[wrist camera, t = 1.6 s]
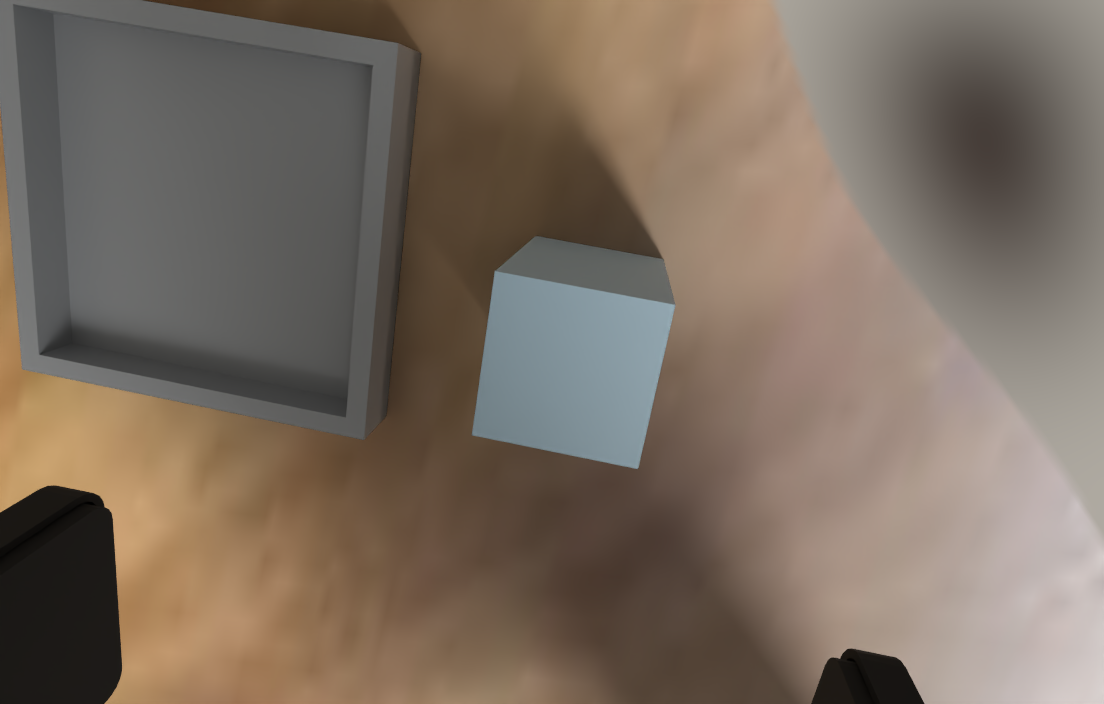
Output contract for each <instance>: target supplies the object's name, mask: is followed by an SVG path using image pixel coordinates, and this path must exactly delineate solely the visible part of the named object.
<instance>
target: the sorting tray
mask: <svg viewBox="0 0 1104 704" xmlns="http://www.w3.org/2000/svg"><path fill="white" fill-rule="evenodd" d="M420 61H421V53H419V52H417V51H415V50H413V49H410V48H408V47H406V46H404V45H402V44H399V43H395V42H389V41H383V40H377V39H371V38H365V37H359V36H353V35H347V34H341V33H335V32H329V31H323V30H317V29H311V28H305V27H299V26H293V25H287V24H281V23H275V22H269V21H263V20H257V19H251V18H245V17H239V16H233V15H227V14H221V13H215V12H209V11H203V10H197V9H191V8H185V7H179V6H173V5H167V4H161V3H155V2H149V1H143V0H0V108H1V120H2V132H3V144H4V156H5V168H6V180H7V192H8V204H9V216H10V229H11V241H12V253H13V265H14V277H15V289H16V301H17V313H18V325H19V337H20V349H21V361H22V369H23V370H28V371H33V372H37V373H42V374H47V375H52V376H57V377H62V378H66V379H71V380H76V381H81V382H86V383H91V384H95V385H100V386H105V387H110V388H115V389H120V390H124V391H129V392H134V393H139V394H144V395H149V396H153V397H158V398H163V399H168V400H173V401H178V402H182V403H187V404H192V405H197V406H202V407H207V408H211V409H216V410H221V411H226V412H231V413H236V414H240V415H245V416H250V417H255V418H260V419H265V420H269V421H274V422H279V423H284V424H289V425H293V426H298V427H303V428H308V429H313V430H318V431H322V432H327V433H332V434H337V435H342V436H347V437H351V438H356V439H361V440H365V438H366V437H367V436H368V435H369V434H370V433H371V432H372V431H373V430H374V429H375V428H376V427H377V426H378V425H379V423H380V422H381V421H382V420H383V419H384V418H385V417H386V414H387V403H388V393H389V383H390V372H391V362H392V351H393V341H394V331H395V320H396V310H397V300H398V289H399V279H400V268H401V258H402V248H403V237H404V227H405V217H406V206H407V196H408V185H409V175H410V165H411V154H412V144H413V133H414V123H415V113H416V102H417V92H418V82H419V71H420Z"/></svg>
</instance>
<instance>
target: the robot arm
mask: <svg viewBox="0 0 1104 704" xmlns="http://www.w3.org/2000/svg"><path fill="white" fill-rule="evenodd" d="M121 673H122V658H121V642H120V627H119V611H118V595H117V579H116V564H115V548H114V532H113V518H112V514H111V512H110V511H109V509H107V508H105V507H104V503H103V500H102V499H101V498H100V496H98V495H96V494H94V493H89V492H85V491H80V490H75V489H70V488H65V487H60V486H46V487H44V488H42V489H39V490H38V491H36V492H34V493H32V494H31V495H29V496H27V497H26V498H24V499H22V500H21V501H19V502H17V503H16V504H14V505H12V506H11V507H9V508H7V509H6V510H4V511H2V512H1V513H0V704H104V703H105V702H106V701H107V700H108V699H109V698H110V696H111V695H112V694H113V692H114V690H115V689H116V687H117V684H118V682H119V680H120V676H121ZM811 704H924V702H923V700H922V698H921V696H920V694H919V692H918V691H917V689H916V687H915V685H914V683H913V681H912V679H911V677H910V675H909V673H908V671H907V669H906V667H905V666H904V665H903V663H902V662H901V661H900V660H899V659H897V658H895V657H890V656H886V655H881V654H876V653H871V652H866V651H861V650H856V649H847V650H846V651H845V652H844V653H843V654H842V656H841V658H840V659H838V658H830V659H829V660H828V661H827V663H826V665H825V667H824V670H823V673H822V676H821V678H820V681H819V684H818V687H817V690H816V692H815V695H814V698H813V701H812V703H811Z"/></svg>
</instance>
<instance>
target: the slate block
mask: <svg viewBox="0 0 1104 704" xmlns="http://www.w3.org/2000/svg"><path fill="white" fill-rule="evenodd" d="M674 309H675V302H674V298H673V294H672V290H671V286H670V283H669V279H668V275H667V271H666V267H665V263H664V260H663V259H660V258H654V257H649V256H643V255H638V254H632V253H627V252H621V251H616V250H611V249H605V248H600V247H594V246H589V245H583V244H578V243H572V242H567V241H561V240H556V239H551V238H545V237H540V236H535V237H534V238H533V239H531V240H530V241H529V242H528V243H527V244H526V245H525V246H523V247H522V248H521V249H520V250H519V251H518V252H516V253H515V254H514V255H513V256H512V257H511V258H510V259H508V260H507V261H506V262H505V263H504V264H503V265H501V266H500V267H499V268H498V269H497V270H496V271H495V274H494V281H493V288H492V295H491V302H490V310H489V317H488V324H487V331H486V338H485V345H484V352H483V359H482V367H481V374H480V381H479V388H478V395H477V402H476V409H475V417H474V424H473V431H472V435H473V436H478V437H483V438H488V439H493V440H498V441H503V442H508V443H512V444H517V445H522V446H527V447H532V448H537V449H542V450H547V451H552V452H557V453H562V454H566V455H571V456H576V457H581V458H586V459H591V460H596V461H601V462H606V463H611V464H616V465H620V466H625V467H630V468H635V469H638V467H639V463H640V458H641V454H642V449H643V445H644V441H645V436H646V432H647V427H648V423H649V419H650V414H651V410H652V405H653V401H654V397H655V392H656V388H657V383H658V379H659V375H660V370H661V366H662V361H663V357H664V353H665V348H666V344H667V339H668V335H669V331H670V326H671V322H672V317H673V313H674Z"/></svg>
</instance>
